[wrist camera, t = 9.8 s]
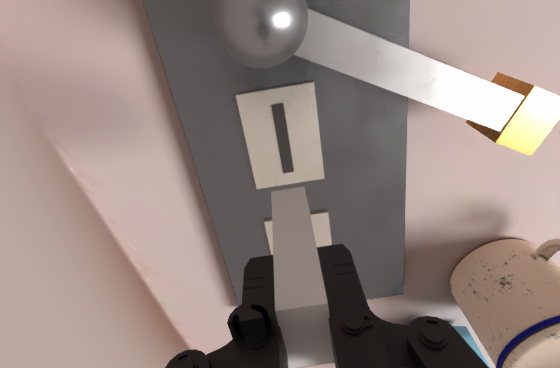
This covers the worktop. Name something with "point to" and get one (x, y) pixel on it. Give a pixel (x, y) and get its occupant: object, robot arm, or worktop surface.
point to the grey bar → (385, 67)
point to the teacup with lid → (512, 301)
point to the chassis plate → (292, 139)
